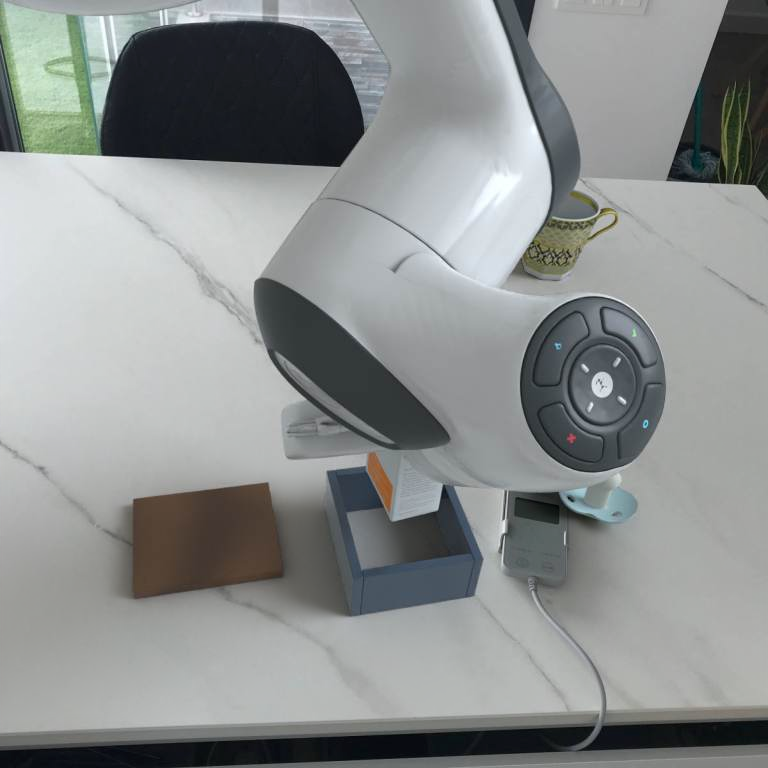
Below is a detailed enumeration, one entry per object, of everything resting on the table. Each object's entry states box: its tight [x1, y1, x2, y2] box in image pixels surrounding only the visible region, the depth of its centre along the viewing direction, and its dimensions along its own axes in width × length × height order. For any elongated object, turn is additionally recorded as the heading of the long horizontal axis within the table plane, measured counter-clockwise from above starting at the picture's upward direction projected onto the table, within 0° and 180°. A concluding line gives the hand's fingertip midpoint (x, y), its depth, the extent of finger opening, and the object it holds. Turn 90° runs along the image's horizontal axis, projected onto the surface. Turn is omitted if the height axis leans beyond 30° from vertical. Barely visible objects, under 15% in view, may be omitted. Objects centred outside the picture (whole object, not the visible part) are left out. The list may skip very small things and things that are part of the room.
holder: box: [324, 465, 484, 617], centre depth 66 cm, size 11×12×5 cm
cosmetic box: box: [365, 450, 443, 523], centre depth 59 cm, size 6×4×12 cm
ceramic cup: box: [521, 188, 619, 281], centre depth 104 cm, size 13×10×10 cm
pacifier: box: [558, 473, 639, 525], centre depth 72 cm, size 7×6×6 cm
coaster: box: [132, 482, 285, 600], centre depth 67 cm, size 12×10×1 cm
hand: (407, 423), depth 59 cm, fingers closed on cosmetic box, 4 cm apart
